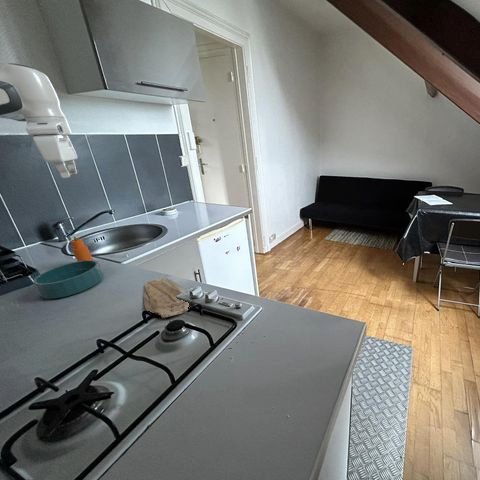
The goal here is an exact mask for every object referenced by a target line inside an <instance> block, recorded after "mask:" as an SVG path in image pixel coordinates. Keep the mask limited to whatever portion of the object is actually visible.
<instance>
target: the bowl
mask: <svg viewBox="0 0 480 480" xmlns="http://www.w3.org/2000/svg"><path fill="white" fill-rule="evenodd" d="M103 278H104V273H103V270H102V269H101V266H100V264H99V262H98V260H94V259H93V260H85V261H73V262H69V263H65V264H62V265H59V266H55V267H53V268H50V269H48V270H46V271H44V272H42V273H40V274H39V275H37V276H35V278H34V279H33V282H32V283H33V285H34V287H35V288H36V290H37V292H38V293H39V295H40V297H42V298H43V299H49V300H53V299H59V298H66V297H70V296H73V295H76V294H80V293H82V292H84V291H87V290H89V289H91V288H93V287H94V286H95V285H97V284H98V283H100V282H101V281H102V280H103Z"/></svg>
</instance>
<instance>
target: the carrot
mask: <svg viewBox="0 0 480 480" xmlns="http://www.w3.org/2000/svg"><path fill="white" fill-rule="evenodd" d="M70 243H71V245H72V247H73V248H72V249H71V251H72V252H73V254H74V257H75V259H76V262H78V261H85V260H94V259H93V256H92V254H91V252H90V250H89V246H88V245H85V243H84V241H83V239H82V238H77V236H73V239H72V240H71V241H70Z"/></svg>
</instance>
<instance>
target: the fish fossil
mask: <svg viewBox="0 0 480 480" xmlns="http://www.w3.org/2000/svg"><path fill="white" fill-rule="evenodd" d="M184 291H187V290H186V289H185V288H183V287H182V286H181V285H179V284H178V283H176V282H174V281H173V280H171V279H170V278H168V277H159V278H157V279H153V280H150V281H147V282H146V283H145V285H144V289H143V293H142V295H143V297H142V298H143V303H144V308H145V310H146V312H148V311H150V312H153V313H158V314H159V315H161V317H162V318H161V319H165V318H169V317H173V316H177V315H181V314H185V313H187V312H188V310H189V309H188V307H189V303H188V302H185V301H183V300H179V299H177V298H176V296H177V295H179V294H181V293H182V292H184ZM189 308H190V307H189ZM150 312H149V313H150Z"/></svg>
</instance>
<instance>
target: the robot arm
mask: <svg viewBox="0 0 480 480" xmlns="http://www.w3.org/2000/svg"><path fill="white" fill-rule="evenodd" d="M0 119H9V120H13V121H16V122H26V126H25V130H26V132H27V134H28V136H31V137H32V139H33V142H34V144H35V146H36V148H37V150H38V151H39V153H40V155H41V157H42V159H43V160H44V161H45V162H46V163H47V164H53V165H54V167H55V169H56V171H58V173H59V174H60V177H61V178H62V179H68V178H70V177H71V176H74V175H77V174H78V170H77V166H76V161H75V160H78V154H77V151H76V149H75V147H74V145H73V143H72V140H71V139H70V137H69V136H71V135H73V132H72V130H71V127H70V125H69V122H68V119H67V117H66V115H65V113H64V112H63V111H62V108H61V101H60V99H59V96H58V94H57V91H56V90H55V88H54V86H53V84H52V82H51V81H50V78H49V77H48V75H47V74H46V73H44V72H43V71H42V70H39V69H37V68H35V67H33V66H29V65H25V64H20V63H14V62H13V63H5V64H4V65H3V66H2V67H1V68H0Z"/></svg>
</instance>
